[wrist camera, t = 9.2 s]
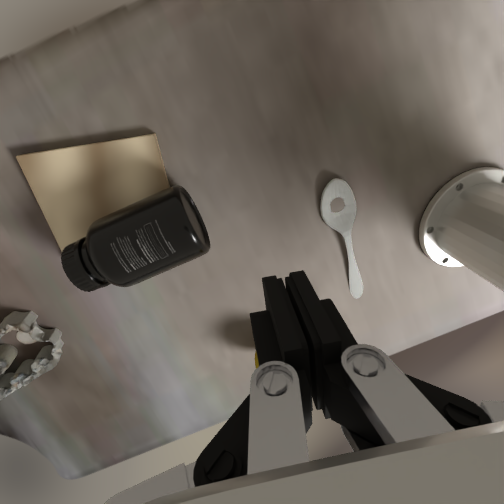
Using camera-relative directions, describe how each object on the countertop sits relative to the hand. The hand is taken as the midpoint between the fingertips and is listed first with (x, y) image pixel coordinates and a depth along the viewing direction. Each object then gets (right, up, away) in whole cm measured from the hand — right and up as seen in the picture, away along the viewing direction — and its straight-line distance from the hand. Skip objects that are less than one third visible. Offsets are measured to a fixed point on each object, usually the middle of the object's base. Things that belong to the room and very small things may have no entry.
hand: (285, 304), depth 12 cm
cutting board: (-15, +7, +18) cm, 25 cm away
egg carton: (-29, -9, +25) cm, 39 cm away
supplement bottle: (-6, +5, +16) cm, 18 cm away
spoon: (+10, +2, +26) cm, 28 cm away
